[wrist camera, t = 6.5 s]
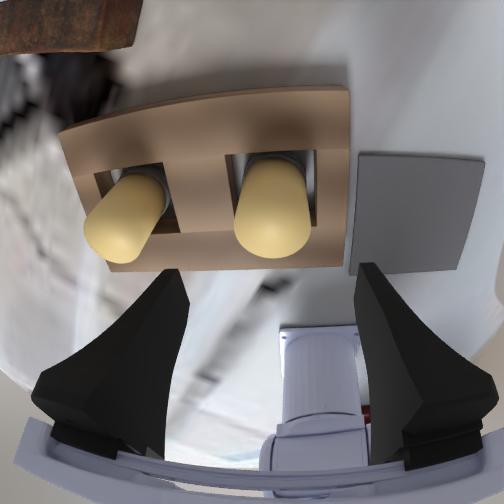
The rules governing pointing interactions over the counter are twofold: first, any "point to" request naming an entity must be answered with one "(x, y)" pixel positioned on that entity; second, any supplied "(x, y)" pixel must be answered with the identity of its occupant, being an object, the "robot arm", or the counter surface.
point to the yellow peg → (273, 206)
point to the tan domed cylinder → (128, 214)
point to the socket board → (219, 170)
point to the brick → (67, 25)
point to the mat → (413, 212)
